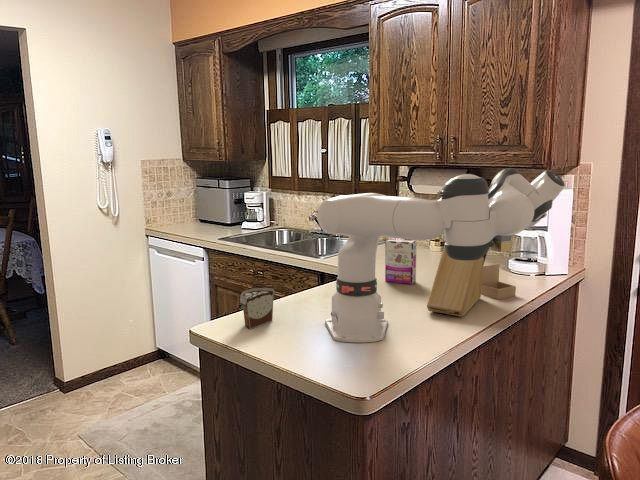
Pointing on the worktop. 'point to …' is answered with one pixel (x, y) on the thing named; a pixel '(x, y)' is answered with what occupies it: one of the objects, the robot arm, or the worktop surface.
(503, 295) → the carton
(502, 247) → the tea tin
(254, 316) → the food container
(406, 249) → the candy bar box
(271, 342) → the worktop surface
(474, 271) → the knife block
